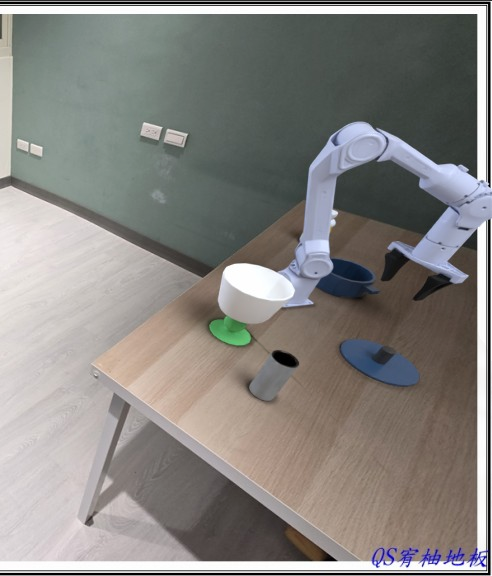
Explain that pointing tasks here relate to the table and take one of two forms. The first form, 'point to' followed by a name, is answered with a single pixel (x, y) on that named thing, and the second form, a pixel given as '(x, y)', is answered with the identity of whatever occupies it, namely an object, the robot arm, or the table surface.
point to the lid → (379, 362)
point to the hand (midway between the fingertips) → (400, 289)
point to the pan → (348, 279)
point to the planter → (273, 375)
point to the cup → (248, 300)
